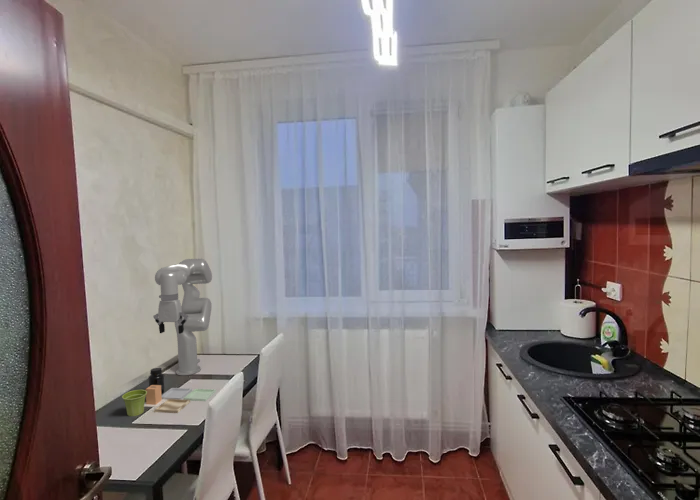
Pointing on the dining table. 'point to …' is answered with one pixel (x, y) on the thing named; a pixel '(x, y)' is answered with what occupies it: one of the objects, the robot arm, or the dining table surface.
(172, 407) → the tray birch
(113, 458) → the dining table surface
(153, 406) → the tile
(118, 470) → the dining table surface
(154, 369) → the supplement bottle
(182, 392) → the tray grey
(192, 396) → the tray green
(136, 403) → the plant pot
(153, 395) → the letter block
